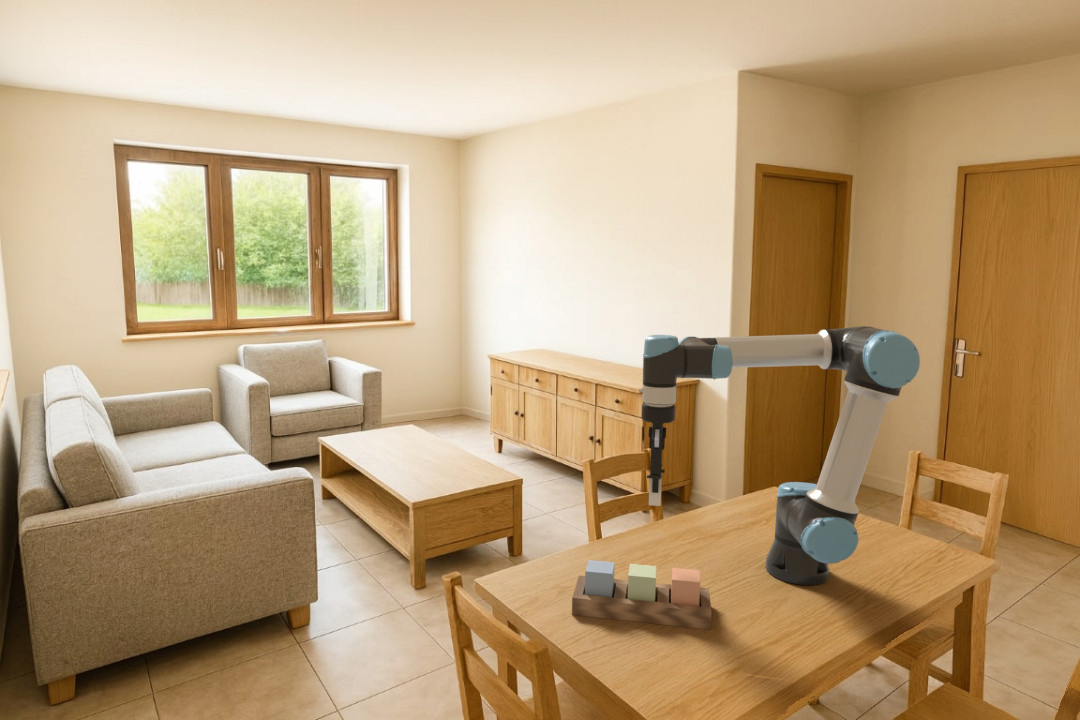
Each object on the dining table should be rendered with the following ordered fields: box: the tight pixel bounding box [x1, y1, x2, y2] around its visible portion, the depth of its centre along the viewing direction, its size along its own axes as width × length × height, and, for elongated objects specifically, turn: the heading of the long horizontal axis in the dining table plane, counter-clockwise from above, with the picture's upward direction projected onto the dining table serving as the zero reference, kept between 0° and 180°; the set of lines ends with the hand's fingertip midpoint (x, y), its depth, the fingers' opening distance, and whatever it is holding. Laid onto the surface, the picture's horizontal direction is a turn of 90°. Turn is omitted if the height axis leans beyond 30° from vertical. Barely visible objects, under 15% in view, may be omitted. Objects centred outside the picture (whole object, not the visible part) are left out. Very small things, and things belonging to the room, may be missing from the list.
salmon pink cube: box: [670, 567, 701, 606], centre depth 155 cm, size 6×6×7 cm
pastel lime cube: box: [627, 563, 657, 602], centre depth 157 cm, size 6×6×7 cm
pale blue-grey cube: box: [584, 559, 615, 598], centre depth 158 cm, size 6×6×7 cm
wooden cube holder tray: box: [571, 575, 712, 631], centre depth 157 cm, size 30×11×4 cm, turn 79°
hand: (654, 502), depth 161 cm, fingers open, 2 cm apart
